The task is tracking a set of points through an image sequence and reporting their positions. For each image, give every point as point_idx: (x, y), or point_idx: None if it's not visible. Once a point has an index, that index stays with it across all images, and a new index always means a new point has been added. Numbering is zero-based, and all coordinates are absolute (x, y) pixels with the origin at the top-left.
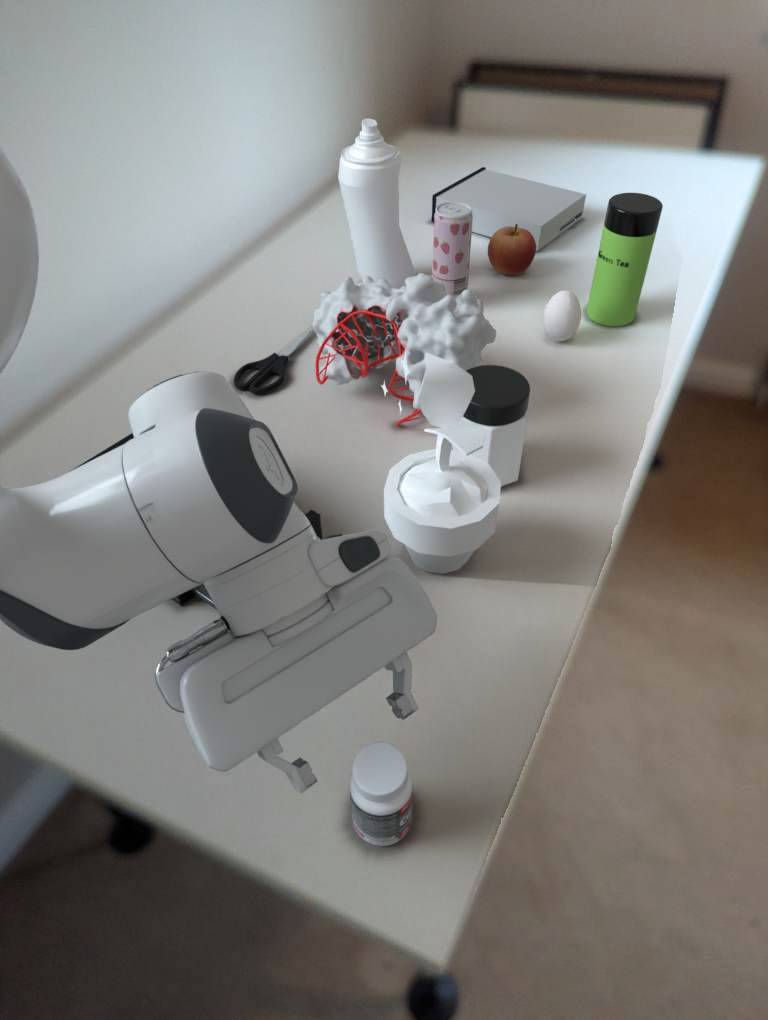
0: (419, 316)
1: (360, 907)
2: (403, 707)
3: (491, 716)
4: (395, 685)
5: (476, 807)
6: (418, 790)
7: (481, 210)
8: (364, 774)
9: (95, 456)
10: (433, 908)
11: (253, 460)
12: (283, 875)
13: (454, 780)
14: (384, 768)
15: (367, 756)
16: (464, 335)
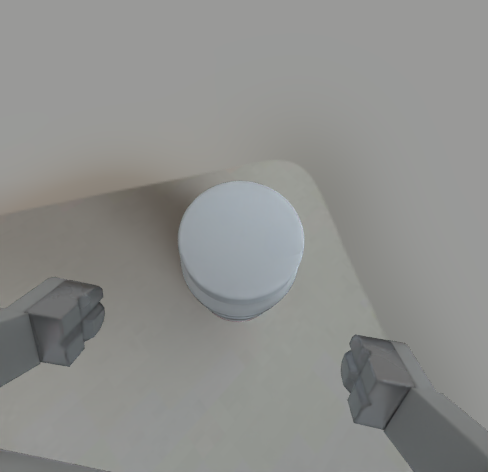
0: None
1: (327, 233)
2: (70, 295)
3: (24, 260)
4: (13, 366)
5: (154, 205)
6: (179, 269)
7: None
8: (278, 248)
9: None
10: (272, 180)
11: None
12: (377, 326)
13: (140, 243)
14: (236, 224)
15: (240, 273)
16: None
